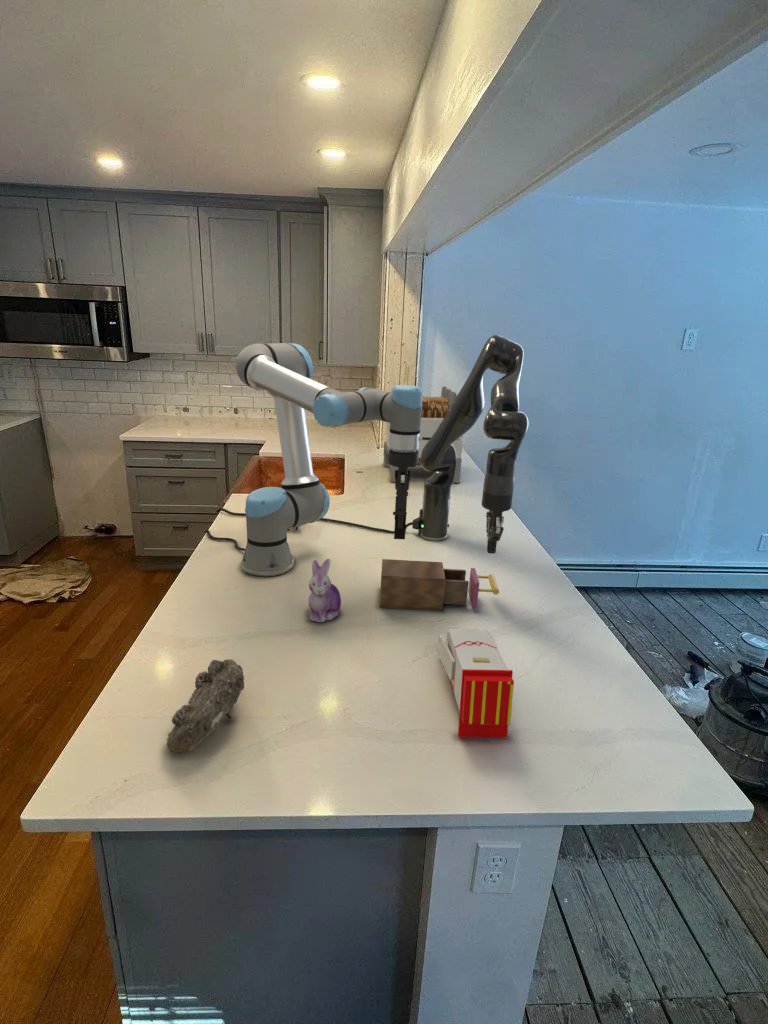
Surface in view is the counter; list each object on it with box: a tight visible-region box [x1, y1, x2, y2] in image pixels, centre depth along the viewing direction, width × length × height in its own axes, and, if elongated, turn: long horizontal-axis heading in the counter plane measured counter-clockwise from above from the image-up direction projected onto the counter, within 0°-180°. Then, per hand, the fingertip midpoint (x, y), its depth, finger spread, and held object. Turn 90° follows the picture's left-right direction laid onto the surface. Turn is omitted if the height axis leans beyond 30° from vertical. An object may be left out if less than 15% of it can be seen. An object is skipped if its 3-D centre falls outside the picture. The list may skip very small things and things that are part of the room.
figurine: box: [308, 558, 342, 623], centre depth 143 cm, size 9×10×15 cm
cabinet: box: [379, 558, 445, 612], centre depth 153 cm, size 17×10×9 cm, turn 88°
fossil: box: [166, 658, 245, 754], centre depth 106 cm, size 22×10×15 cm
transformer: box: [383, 386, 464, 484], centre depth 268 cm, size 34×33×41 cm
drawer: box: [443, 567, 500, 609], centre depth 153 cm, size 21×9×8 cm, turn 88°
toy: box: [437, 628, 515, 738], centre depth 117 cm, size 12×13×30 cm
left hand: (399, 528), depth 148 cm, fingers open, 13 cm apart
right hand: (490, 552), depth 150 cm, fingers closed
